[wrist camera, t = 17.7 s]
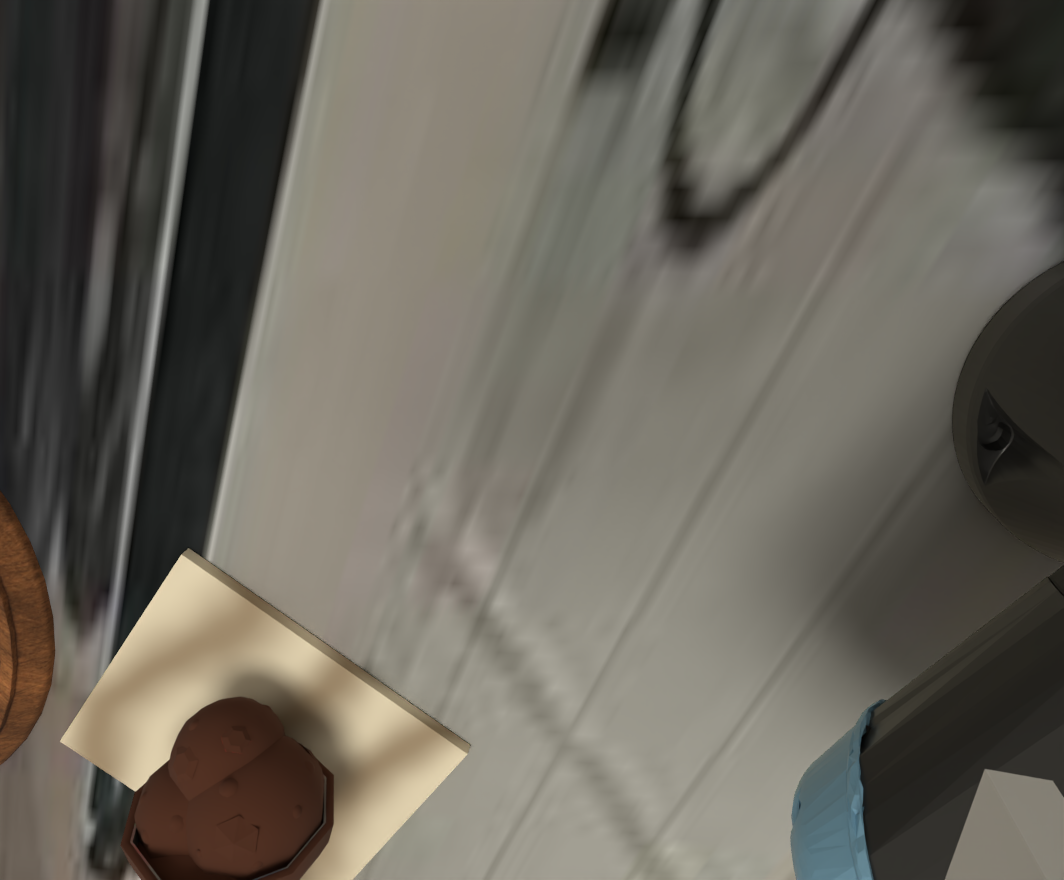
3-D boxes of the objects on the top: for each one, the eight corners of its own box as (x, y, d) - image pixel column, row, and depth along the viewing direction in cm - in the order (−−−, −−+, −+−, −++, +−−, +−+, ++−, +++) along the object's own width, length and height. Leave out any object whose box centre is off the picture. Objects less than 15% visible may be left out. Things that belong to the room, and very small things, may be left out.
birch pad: (470, 745, 49) (467, 754, 49) (324, 903, 55) (320, 914, 54) (189, 548, 48) (181, 554, 47) (68, 733, 53) (59, 741, 52)
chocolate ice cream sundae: (94, 966, 46) (59, 761, 40) (236, 820, 56) (225, 638, 50) (246, 1061, 43) (233, 852, 37) (370, 888, 52) (376, 700, 46)
